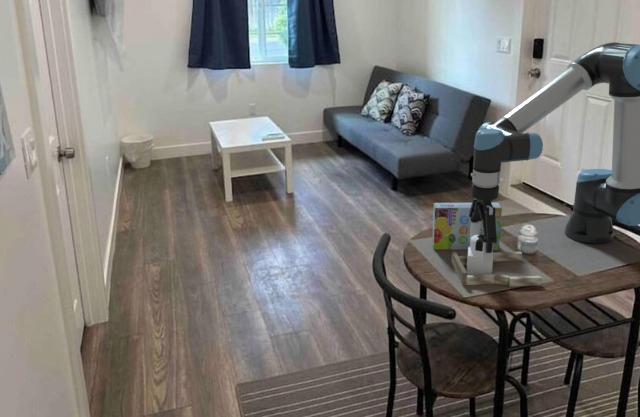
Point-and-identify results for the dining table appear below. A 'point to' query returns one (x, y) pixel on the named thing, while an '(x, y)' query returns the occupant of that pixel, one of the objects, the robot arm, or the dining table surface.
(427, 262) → the dining table surface
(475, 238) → the medicine bottle
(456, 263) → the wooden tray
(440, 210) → the snack box
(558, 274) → the dining table surface
